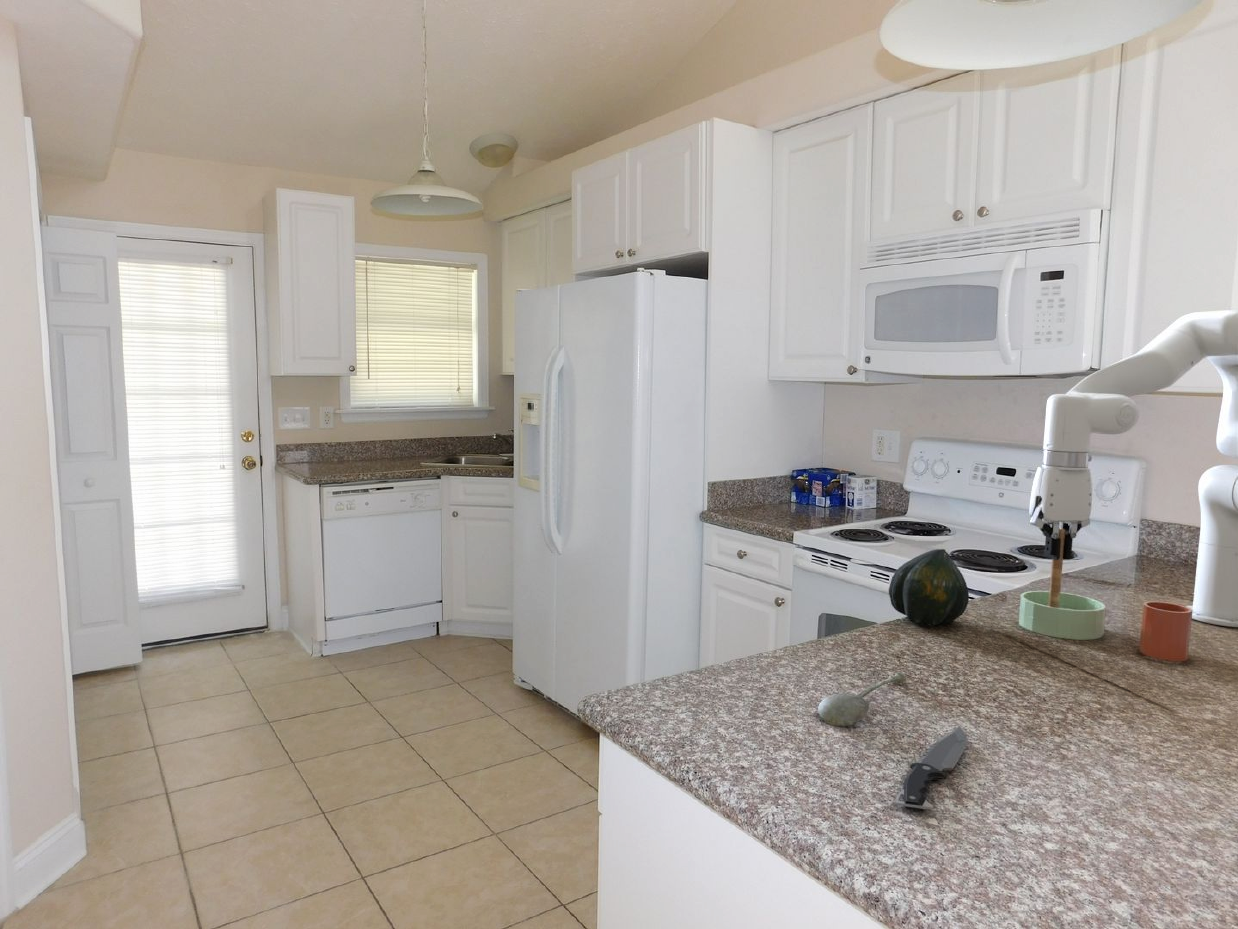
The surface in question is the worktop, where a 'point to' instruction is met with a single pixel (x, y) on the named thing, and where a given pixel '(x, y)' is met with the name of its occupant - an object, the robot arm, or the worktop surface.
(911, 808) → the knife
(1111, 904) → the worktop surface
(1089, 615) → the bowl
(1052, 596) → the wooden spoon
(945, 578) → the squash
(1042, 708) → the worktop surface
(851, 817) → the worktop surface
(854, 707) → the soupspoon
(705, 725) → the worktop surface
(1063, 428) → the robot arm
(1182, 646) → the crock
